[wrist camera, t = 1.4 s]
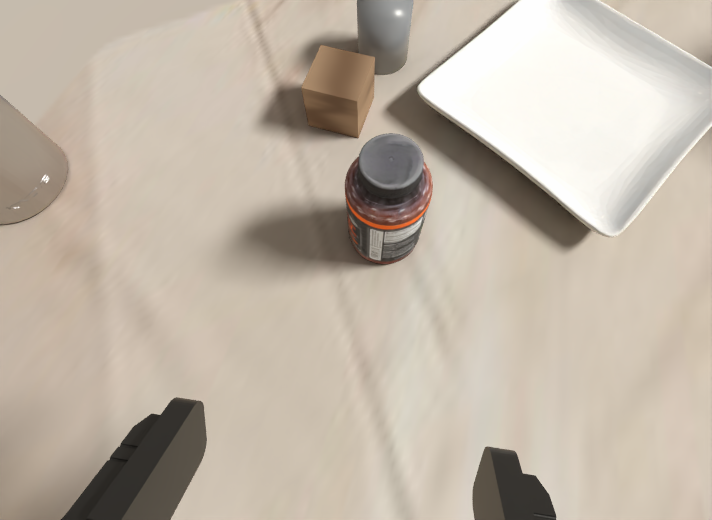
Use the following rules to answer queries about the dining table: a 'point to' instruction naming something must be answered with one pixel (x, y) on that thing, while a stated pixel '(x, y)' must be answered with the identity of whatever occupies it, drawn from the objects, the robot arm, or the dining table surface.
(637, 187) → the salad plate
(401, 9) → the grey cylinder
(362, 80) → the walnut cube
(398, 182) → the supplement bottle
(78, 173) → the dining table surface
